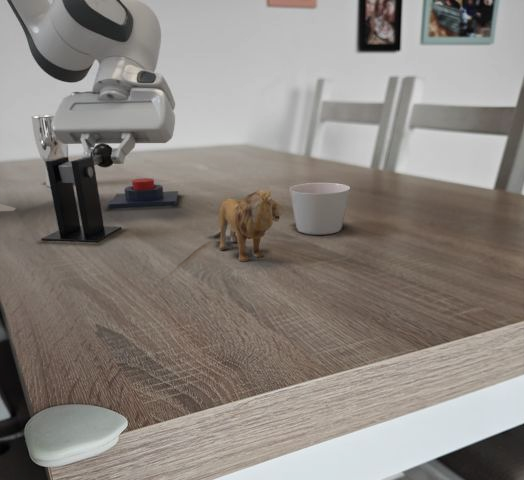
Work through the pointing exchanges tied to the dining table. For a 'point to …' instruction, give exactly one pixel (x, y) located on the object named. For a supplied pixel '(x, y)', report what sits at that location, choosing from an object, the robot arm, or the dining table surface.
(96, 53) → the robot arm
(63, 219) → the bracket
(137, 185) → the button
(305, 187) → the white ramekin
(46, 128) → the beer glass
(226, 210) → the lion figurine
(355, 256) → the dining table surface
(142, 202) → the button box
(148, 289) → the dining table surface
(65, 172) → the lever
